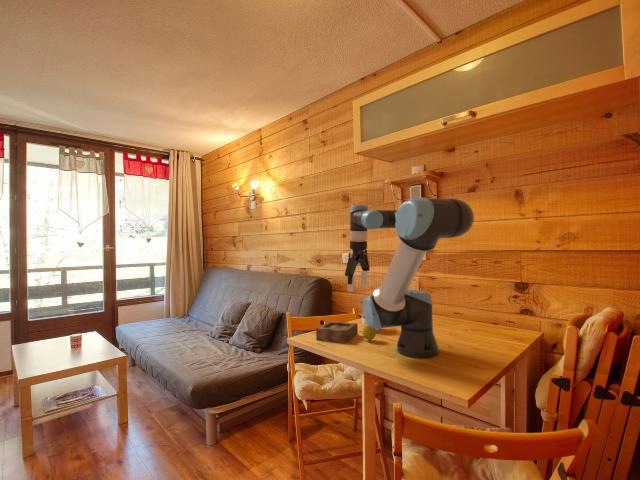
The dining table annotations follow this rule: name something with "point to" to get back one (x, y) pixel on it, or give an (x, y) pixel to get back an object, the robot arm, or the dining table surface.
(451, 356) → the dining table surface
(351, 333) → the walnut base
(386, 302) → the robot arm
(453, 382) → the dining table surface
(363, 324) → the lidded jar
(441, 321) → the dining table surface
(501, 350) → the dining table surface
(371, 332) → the lemon
